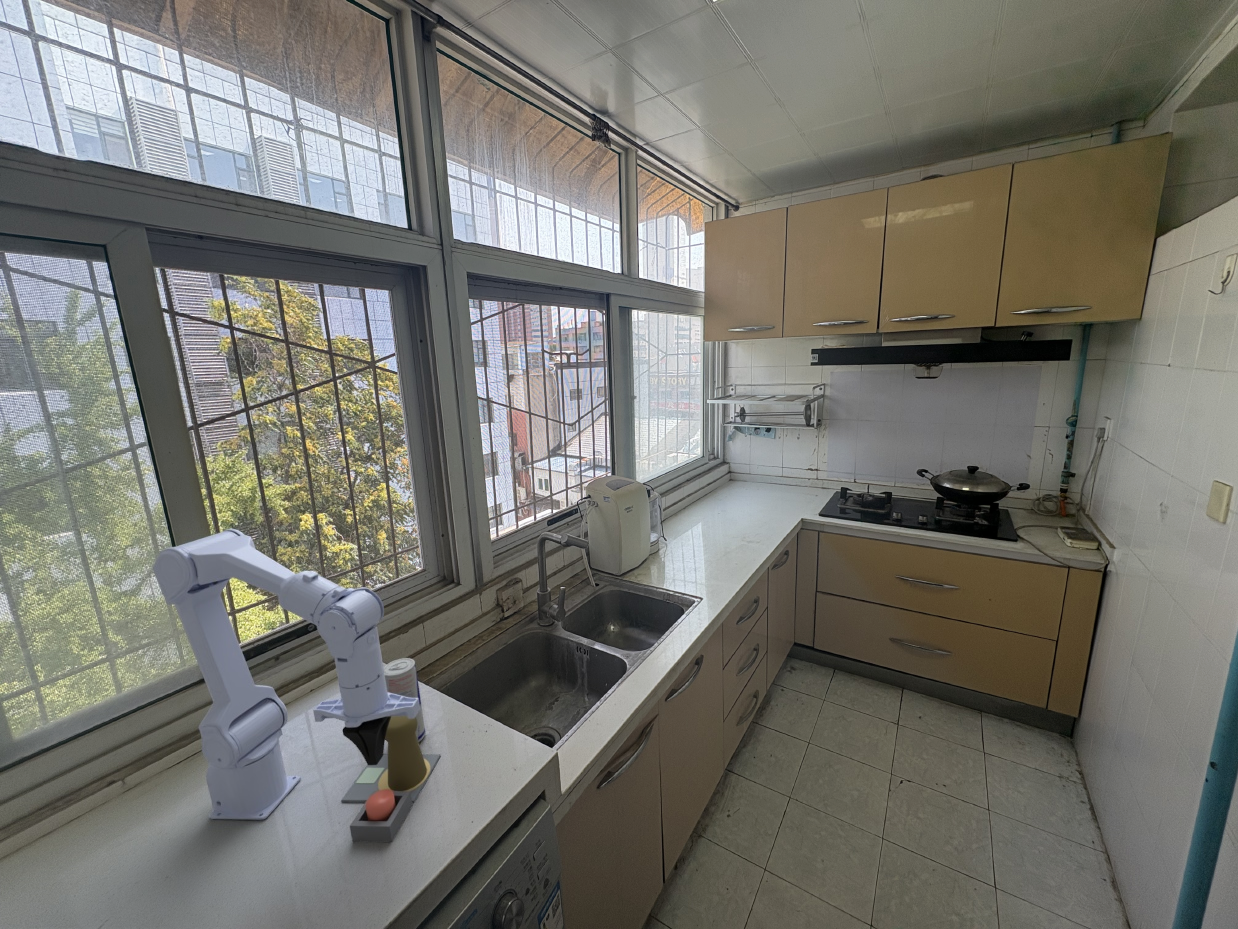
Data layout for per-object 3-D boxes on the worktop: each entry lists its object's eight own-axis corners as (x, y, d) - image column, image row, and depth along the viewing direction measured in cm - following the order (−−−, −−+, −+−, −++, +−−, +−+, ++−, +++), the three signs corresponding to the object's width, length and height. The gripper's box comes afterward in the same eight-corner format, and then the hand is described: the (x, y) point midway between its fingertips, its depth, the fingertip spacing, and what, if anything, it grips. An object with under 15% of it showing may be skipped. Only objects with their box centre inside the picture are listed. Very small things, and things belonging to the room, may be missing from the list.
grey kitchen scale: (341, 802, 77) (341, 799, 77) (375, 756, 86) (375, 753, 86) (414, 803, 76) (413, 800, 76) (440, 756, 85) (440, 753, 85)
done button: (362, 825, 71) (359, 810, 70) (377, 802, 75) (374, 789, 74) (387, 825, 71) (385, 811, 70) (400, 803, 74) (398, 789, 74)
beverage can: (432, 735, 91) (421, 661, 88) (405, 755, 86) (393, 678, 84) (413, 725, 94) (403, 654, 91) (386, 744, 89) (374, 669, 87)
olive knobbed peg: (434, 764, 83) (426, 707, 81) (412, 794, 77) (402, 732, 75) (403, 760, 84) (395, 703, 82) (379, 788, 79) (369, 728, 77)
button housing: (352, 841, 70) (349, 826, 70) (375, 805, 76) (373, 790, 76) (392, 842, 70) (389, 826, 69) (412, 805, 76) (410, 791, 75)
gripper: (292, 696, 65) (309, 783, 68) (398, 692, 65) (411, 780, 67) (325, 665, 72) (340, 745, 75) (420, 661, 72) (432, 743, 74)
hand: (375, 760), depth 71 cm, fingers closed
